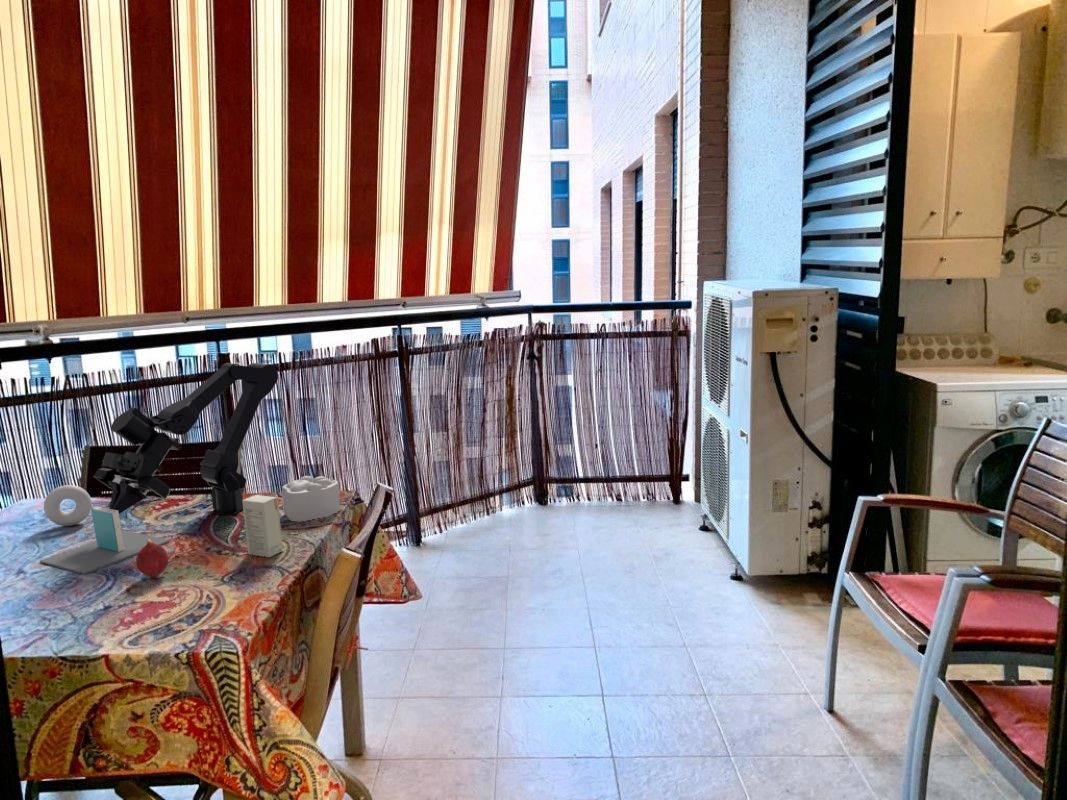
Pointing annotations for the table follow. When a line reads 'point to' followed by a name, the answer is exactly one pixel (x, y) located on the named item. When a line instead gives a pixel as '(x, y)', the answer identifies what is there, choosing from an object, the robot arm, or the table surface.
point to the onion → (152, 559)
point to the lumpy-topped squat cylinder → (310, 498)
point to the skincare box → (262, 525)
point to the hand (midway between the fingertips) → (110, 517)
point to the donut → (61, 494)
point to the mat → (100, 554)
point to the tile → (107, 528)
